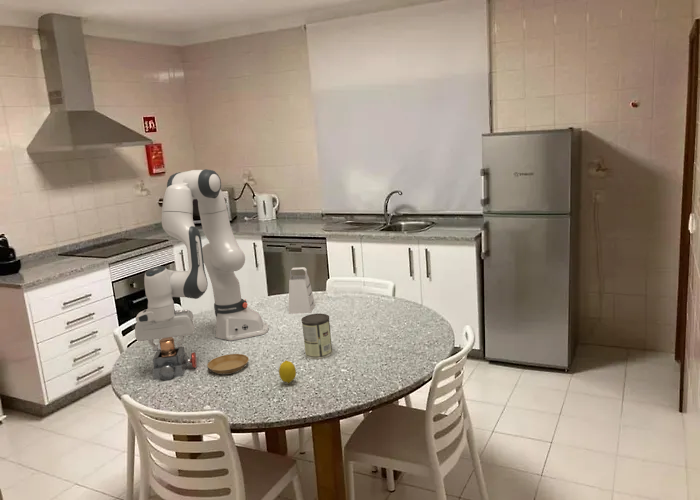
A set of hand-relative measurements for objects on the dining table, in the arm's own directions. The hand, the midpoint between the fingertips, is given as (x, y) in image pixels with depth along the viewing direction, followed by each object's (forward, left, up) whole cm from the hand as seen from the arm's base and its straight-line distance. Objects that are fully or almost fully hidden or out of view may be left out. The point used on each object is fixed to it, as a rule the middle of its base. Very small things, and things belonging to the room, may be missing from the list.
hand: (167, 348), depth 205 cm
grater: (-51, -54, -9) cm, 75 cm away
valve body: (-2, 0, -9) cm, 9 cm away
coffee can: (-54, +2, -9) cm, 55 cm away
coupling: (0, 0, -4) cm, 4 cm away
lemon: (-42, +24, -9) cm, 49 cm away
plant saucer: (-21, +4, -9) cm, 23 cm away
